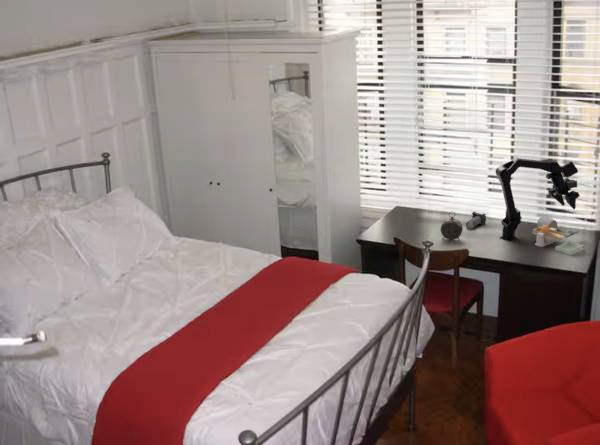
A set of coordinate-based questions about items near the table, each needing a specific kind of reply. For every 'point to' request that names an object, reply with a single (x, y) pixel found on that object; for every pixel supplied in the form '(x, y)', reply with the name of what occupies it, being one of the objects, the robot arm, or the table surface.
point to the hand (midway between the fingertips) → (569, 206)
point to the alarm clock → (451, 228)
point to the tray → (569, 248)
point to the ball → (544, 228)
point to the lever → (553, 234)
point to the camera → (476, 220)
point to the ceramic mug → (547, 222)
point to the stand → (541, 241)
